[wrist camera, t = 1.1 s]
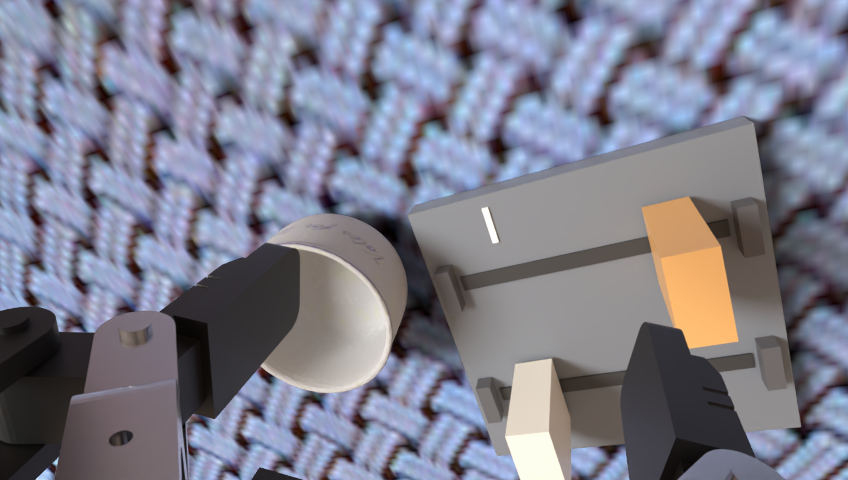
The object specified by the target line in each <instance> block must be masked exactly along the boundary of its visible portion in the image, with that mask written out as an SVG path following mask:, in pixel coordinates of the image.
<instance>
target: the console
mask: <svg viewBox="0 0 848 480" xmlns="http://www.w3.org/2000/svg"><path fill="white" fill-rule="evenodd" d="M688 196H689V198H690V199H691V201H692V202H693V204H694V205H695V207H696V209H697V210H698V212H699V213H700V215H701V216H702V218H703V219H704V221H705V222H706V224H707V226H708V227H709V229H710V230H711V232H712V233H713V235H714V236H715V238H716V239H717V241H718V243H719V244H720V246H721V250H722V255H723V261H724V266H725V271H726V277H727V282H728V287H729V293H730V298H731V303H732V309H733V314H734V319H735V325H736V330H737V335H738V341H739V342H732V343H725V344H718V345H711V346H704V347H698V348H691V349H689V351H690V353H691V355H695V356H700V357H704V358H705V359H706V360H707V361H708V362H709V363H710V364H711V365H712V366H713V367H714V368H715V369H716V370H717V371H718V372H719V373H720V374H721V375H722V378H723V380H724V383H725V385H726V388H727V390H728V392H729V393H728V396H730V397H731V400H732V402H733V404H734V407H735V408H734V411H736V412H737V414H738V416H739V419H740V421H741V424H742V426H743V429H744V431H745V432H752V431H763V430H773V429H784V428H794V427H801V423H800V417H799V410H798V404H797V397H796V391H795V385H794V378H793V372H792V365H791V359H790V352H789V346H788V339H787V333H786V327H785V320H784V314H783V307H782V301H781V294H780V288H779V281H778V275H777V269H776V262H775V256H774V249H773V243H772V236H771V230H770V223H769V217H768V210H767V204H766V198H765V191H764V185H763V178H762V172H761V165H760V159H759V152H758V146H757V140H756V133H755V127H754V123H753V122H752V121H750V120H748V119H747V118H745V117H743V116H741V117H738V118H734V119H730V120H727V121H723V122H719V123H716V124H712V125H708V126H705V127H701V128H697V129H693V130H690V131H686V132H682V133H679V134H675V135H671V136H668V137H664V138H660V139H657V140H653V141H649V142H646V143H642V144H638V145H635V146H631V147H627V148H624V149H620V150H616V151H612V152H609V153H605V154H601V155H598V156H594V157H590V158H587V159H583V160H579V161H576V162H572V163H568V164H565V165H561V166H557V167H554V168H550V169H546V170H543V171H539V172H535V173H531V174H528V175H524V176H520V177H517V178H513V179H509V180H506V181H502V182H498V183H495V184H491V185H487V186H484V187H480V188H476V189H473V190H469V191H465V192H462V193H458V194H454V195H450V196H447V197H443V198H439V199H436V200H432V201H428V202H425V203H421V204H417V205H415V206H414V207H413V209H412V210H411V211H410V212H409V214H408V218H409V221H410V223H411V226H412V229H413V232H414V234H415V237H416V240H417V242H418V245H419V248H420V250H421V253H422V256H423V258H424V261H425V264H426V266H427V269H428V272H429V274H430V277H431V280H432V282H433V285H434V288H435V290H436V293H437V296H438V299H439V301H440V304H441V307H442V309H443V312H444V315H445V317H446V320H447V323H448V325H449V328H450V331H451V333H452V336H453V339H454V341H455V344H456V347H457V349H458V352H459V355H460V357H461V360H462V363H463V366H464V368H465V371H466V374H467V376H468V379H469V382H470V384H471V387H472V390H473V392H474V395H475V398H476V400H477V403H478V406H479V408H480V411H481V414H482V416H483V419H484V422H485V424H486V427H487V430H488V432H489V435H490V438H491V441H492V443H493V446H494V449H495V451H496V454H497V456H501V455H511V452H510V449H509V446H508V443H507V441H506V438H505V433H506V426H507V419H508V412H509V405H510V398H511V391H512V384H513V377H514V370H515V364H519V363H525V362H532V361H538V360H545V359H551V358H552V361H553V364H554V367H555V370H556V374H557V377H558V380H559V383H560V386H561V390H562V393H563V396H564V399H565V402H566V406H567V409H568V412H569V415H570V420H571V449H574V448H585V447H595V446H606V445H616V444H625V440H624V433H623V425H622V417H621V409H620V397H621V389H622V384H623V380H624V376H625V373H626V370H627V367H628V364H629V361H630V358H631V354H632V351H633V348H634V345H635V342H636V339H637V336H638V333H639V330H640V327H641V325H642V324H643V323H644V322H649V323H654V324H659V325H664V326H669V327H673V324H672V321H671V318H670V315H669V312H668V309H667V306H666V303H665V300H664V297H663V294H662V291H661V288H660V285H659V282H658V277H657V273H656V269H655V264H654V260H653V256H652V251H651V247H650V243H649V238H648V234H647V230H646V225H645V221H644V217H643V212H642V208H641V207H645V206H650V205H654V204H658V203H662V202H667V201H671V200H675V199H680V198H684V197H688ZM673 328H674V327H673Z"/></svg>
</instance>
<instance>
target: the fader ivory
mask: <svg viewBox="0 0 848 480" xmlns="http://www.w3.org/2000/svg"><path fill="white" fill-rule="evenodd" d="M505 438H506V441H507V443H508V446H509V449H510V452H511V454H512V457H513V460H514V463H515V465H516V468H517V471H518V474H519V477H520V479H521V480H571V420H570V415H569V412H568V409H567V406H566V402H565V399H564V396H563V393H562V390H561V386H560V383H559V380H558V377H557V374H556V370H555V367H554V364H553V361H552V358H551V359H545V360H538V361H532V362H525V363H519V364H515V370H514V377H513V384H512V391H511V398H510V405H509V412H508V419H507V426H506V433H505Z"/></svg>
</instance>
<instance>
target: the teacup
mask: <svg viewBox="0 0 848 480" xmlns="http://www.w3.org/2000/svg"><path fill="white" fill-rule="evenodd" d="M266 243H272V244H277V245H282V246H287V247H292V248H296V249H297V250H298V251H299V254H300V307H299V313H298V317H297V320H296V322H295V324H294V326H293V328H292V329H291V331H290V332H289V333H288V334H287V335H286V337H285V338H284V339H283V340H282V341H281V342H280V344H279V345H278V346H277V347H276V348H275V349H274V351H273V352H272V353H271V354H270V355H269V356H268V358H267V359H266V360H265V361H264V362H263V363H262V365H261V367H262V368H264V369H265V370H266V371H268V372H269V373H270V374H272V375H273V376H275V377H277V378H279V379H280V380H282V381H284V382H286V383H288V384H290V385H293V386H296V387H298V388H301V389H305V390H310V391H315V392H321V393H337V392H345V391H349V390H352V389H355V388H358V387H360V386H362V385H364V384H365V383H367V382H369V381H370V380H372V379H373V378H374V377H375V376H376V375H377V374H378V373H379V372H380V371H381V370H382V368H383V367H384V365H385V364H386V362H387V359H388V357H389V354H390V351H391V348H392V342H393V340H394V338H395V335H396V333H397V330H398V328H399V325H400V323H401V320H402V317H403V314H404V311H405V307H406V302H407V292H408V286H407V277H406V273H405V269H404V266H403V263H402V261H401V259H400V257H399V255H398V253H397V252H396V250H395V249H394V247H393V246H392V245H391V243H390V242H389V241H388V240H387V239H386V238H385V237H384V236H383V235H382V234H381V233H380V232H378V231H377V230H376V229H374V228H373V227H371V226H370V225H368V224H366V223H364V222H362V221H360V220H358V219H355V218H352V217H349V216H345V215H339V214H316V215H311V216H307V217H304V218H302V219H299V220H297V221H295V222H293V223H291V224H289V225H288V226H286V227H285V228H283V229H282V230H281V231H279V232H278V233H277V234H276V235H274V236H273V237H272V238H271V239H270V240H268V241H267V242H266ZM246 258H247V257H246Z"/></svg>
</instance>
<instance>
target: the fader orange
mask: <svg viewBox="0 0 848 480" xmlns="http://www.w3.org/2000/svg"><path fill="white" fill-rule="evenodd" d="M641 208H642V212H643V217H644V221H645V225H646V230H647V234H648V238H649V243H650V247H651V251H652V256H653V260H654V264H655V269H656V273H657V277H658V282H659V285H660V288H661V291H662V294H663V297H664V300H665V303H666V306H667V309H668V312H669V315H670V318H671V321H672V324H673V327H674V328H678V329H681V330H682V331H683V334H684V336H685V339H686V342H687V345H688V348H689V349H691V348H698V347H704V346H711V345H718V344H725V343H732V342H739V341H738V335H737V330H736V325H735V319H734V314H733V309H732V303H731V298H730V293H729V287H728V282H727V277H726V271H725V266H724V261H723V255H722V250H721V246H720V244H719V243H718V241H717V239H716V238H715V236H714V235H713V233H712V232H711V230H710V229H709V227H708V226H707V224H706V222H705V221H704V219H703V218H702V216H701V215H700V213H699V212H698V210H697V209H696V207H695V205H694V204H693V202H692V201H691V199H690V198H689V196H688V197H684V198H680V199H675V200H671V201H667V202H662V203H658V204H654V205H650V206H645V207H641Z"/></svg>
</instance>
